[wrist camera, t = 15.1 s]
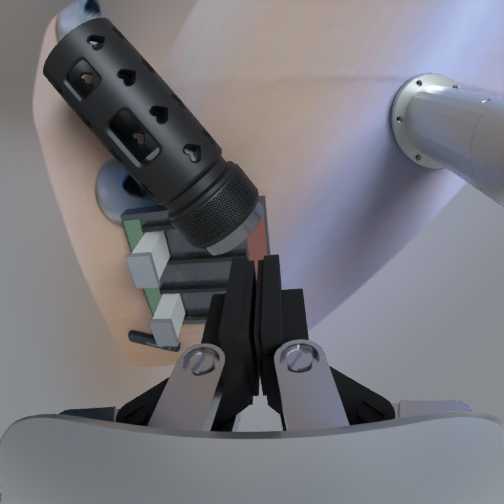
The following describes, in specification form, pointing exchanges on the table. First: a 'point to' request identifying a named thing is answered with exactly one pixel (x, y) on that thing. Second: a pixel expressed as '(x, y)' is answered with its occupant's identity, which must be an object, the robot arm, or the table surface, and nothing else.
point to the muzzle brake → (154, 136)
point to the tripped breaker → (168, 320)
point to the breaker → (149, 259)
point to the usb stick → (149, 340)
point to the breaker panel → (192, 261)
